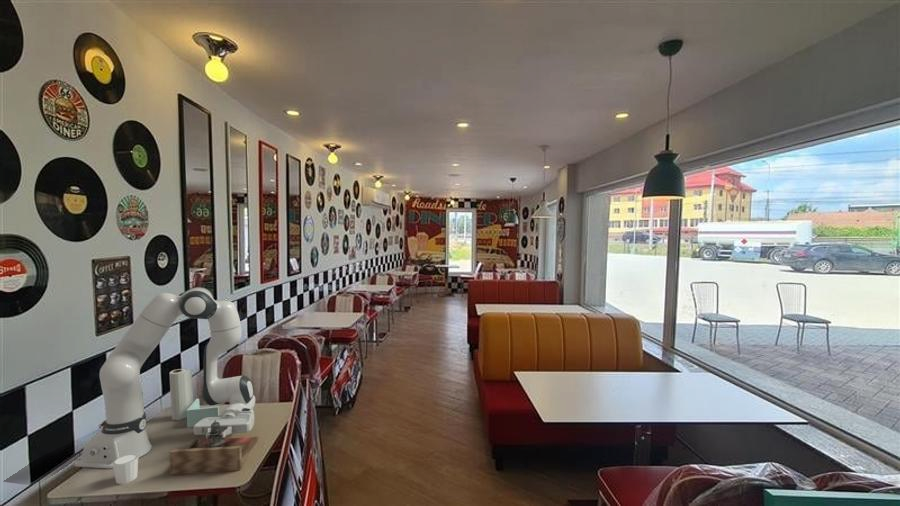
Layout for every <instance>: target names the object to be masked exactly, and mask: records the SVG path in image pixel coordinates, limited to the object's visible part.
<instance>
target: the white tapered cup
mask: <svg viewBox="0 0 900 506" xmlns="http://www.w3.org/2000/svg"><path fill="white" fill-rule="evenodd" d="M112 464H113V468H112V470H113V473H114V478H115V483H116V484H117V485H125V484H128V483H131V482H132V481H134V480H135V479H137V477H138V471H139V470H138V469H139V468H138V466H139V458H138V455H137V454H128V455H124V456H121V457H119V458H117V459H116V460H114V461H113V463H112Z"/></svg>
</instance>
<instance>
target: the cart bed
mask: <svg viewBox="0 0 900 506" xmlns="http://www.w3.org/2000/svg"><path fill="white" fill-rule="evenodd" d="M224 439H225V444H224V446H223V447H212V448H208V446H207V443H208V442H209V441H211V438H208V439H206V438H205V439H204V441H203V442H202V443H201V444H199V441H198V439H194V440H193V441H192V442H191V443H190V444H189V445H188V446H187V447H186V448H182V449H180V448H178V449H171V450H170V451H169V468H170V475H182V474H184V475H185V474H197V473H198V474H199V473H213V472H214V473H215V472H217V473H218V472H231V471H233V472H234V471H241V470H242V469H243V467H244V466H245V464H246V462H247V461H248V460H249V459H250V457H251V456H252V454H253V452H254V451H255V450H256V449H257V447H258V440H259V436H245V437H243V436H242V437H231V438H229V437H228V438H225V437H224Z"/></svg>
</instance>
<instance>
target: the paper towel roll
mask: <svg viewBox="0 0 900 506" xmlns="http://www.w3.org/2000/svg"><path fill="white" fill-rule="evenodd" d="M192 374H193V373H192V369H188V370H186V369H185V368H178V369H173V370H171V371H170V372H169V374H168V375H169V388H170V389H169V390H170V407H171V420H172V421H180V420H183V419H187V409H188V408H189V407H190V406H191V405H192V403H193V402H194V398H193V397H194V396H193V392H194V391H193V378H192Z"/></svg>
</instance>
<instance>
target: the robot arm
mask: <svg viewBox="0 0 900 506" xmlns="http://www.w3.org/2000/svg"><path fill="white" fill-rule="evenodd" d="M181 315H183V316H184V317H187V318H189V319H197V320H198V319H200V320H207V321H208V325H209V329H210V330H209V331H210V338H209V342H207V343H206V344H205V346H204V350H203V364H202V365H203V369H202V370H203V373H202V378H203V379H202V380H203V381H202V389H201V399H202V400H203V402H204V403H205V404H207V405H209V406H210V407H213V406H216V405H219V404H223V403H229V404H228V405H227V406H226V407H225V408H224V409H223V410H222V411H220V412H221V413H220V415H219V417H207V418H204V419H202V420H201V421H199V422H198V423H196V424H195V425H194V427H193V434H194V435H195V436H204V435H205V440H206V439H211V434H210V433H211V424H212V423H214V421H215V420H216V422H219V423H220V430H221V433H220V434H219V436H220V438H224V439H225V437H227V436H228V435H229V436H230V435H231V434H238V433H239V434H241V433H243V434H244V433H248V432H250V431H251V430H252V429H253V427H254V425H255V411H254V408H255V405H256V401H257V400H256V396H255V390H254V384H253V381H252V380H251V379H250V378H249V377H248V376H246V375H239V376H238V375H237V376H232V377H226V378H225V377H224V378H219V377H218V359H219V357H220V356H221V355H222V354H224V353H225V352H227V351H230V350H231V349H233V348H234V347H236V346H237V345H238V344H239V343H240V341H241V340H242V337H243V329H242V324H241V320H240V315H239V311H238V309H237V306H236V305H235V303H234V302H232V301H229V300H220V301H219V300H215V299H214V295H213V293H212V292H211V291H210V290H209V289H208V288H206V287H203V286H195V287H192V288H190V289H187V290H186V291H184V292H182V293H180V294H179V295H176V294H174V293H172V292H171V293H170V292H161V293H158V294H157V295H156V296H155V297H154V298H153V299H152V300H150V301H149V303H147V304H146V306H145V307H144V308H143V309H142V311H141V312H140V314H138V316H137V318H136V319H135V320H134V321H133V323H132V324H131V326H130V327H129V328H128V330H127V332H126V333H125V334H124V335H123V336H122V338H121V340H119V342H118V343H117V345H116V346H115V347H114V349H112V352H111V353H110V354H109V356H108V357H107V358H106V360H105V361H104V363H103V364H102V366H101V368H100V369H99V381H100V387H101V391H102V396H103V399H104V406H105V408H104V409H105V420H104V421H102V423H100V424H99V425H98V429H101V431H99V432H98V433H97V434H96V435H95V436H93V437H92V438H91V439H90V440H88V441H87V442H86V443H85V444H84V446H83V450H82V454H81V455H80V456H79V457H77V459H76V460H75V461H74V466H73V467H79V468H81V467H82V468H97V469H113V464H112V463H113V461H114V460H116V459H117V458H119V457H121V456H124V455H128V454H137V455H138V459H139V458H141V457H144V456H145V455H146V454H147V453H149V452H150V451H151V449H152V447H153V445H152V444H151V442H150V439H149V437H148V433H147V415H146V414H147V413H146V411H145V408H144V407H145V406H144V394H143V393H144V392H143V388H142V383H141V376H140V375H141V374H140V373H141V369H142V367H143V365H144V364H145V362H146V360H147V359H148V358H149V357H150V356H151V354H152V352H153V351H154V350H155V349H156V347H157V346H158V345H159V344H160V342H161V341H162V340H163V338H164V337H165V335H166V334H167V332H168V331H169V330H170V328H171V327H172V326H173V324H174V322H175V321H177V319H178V318H179V317H180V316H181Z"/></svg>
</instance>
